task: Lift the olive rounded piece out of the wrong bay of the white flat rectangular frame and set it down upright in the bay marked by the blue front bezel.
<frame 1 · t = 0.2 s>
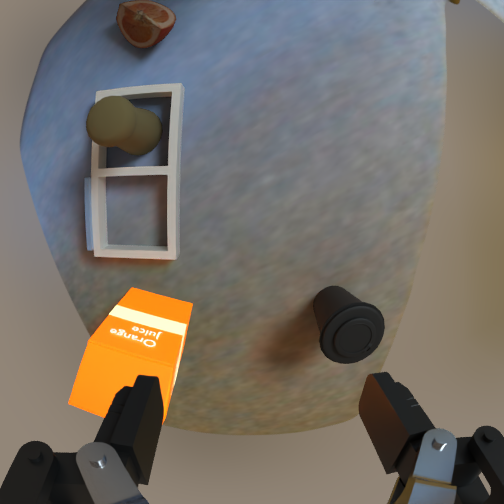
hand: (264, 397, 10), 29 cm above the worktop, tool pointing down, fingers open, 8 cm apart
white flat rectangular frame: (137, 171, 35), on the worktop
coffee cup: (331, 303, 41), on the worktop
orange juice: (158, 318, 41), on the worktop
olive rounded piece: (139, 132, 34), resting in white flat rectangular frame
fruit slice: (151, 30, 31), on the worktop
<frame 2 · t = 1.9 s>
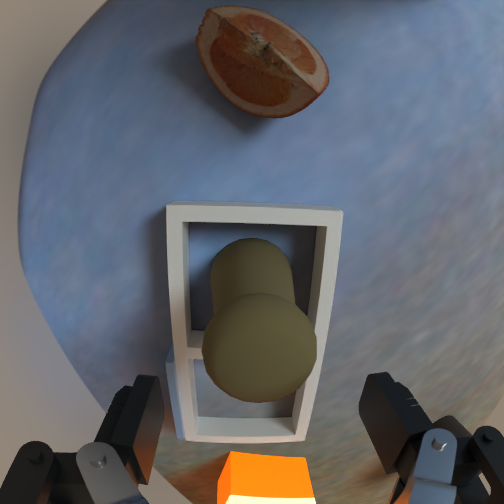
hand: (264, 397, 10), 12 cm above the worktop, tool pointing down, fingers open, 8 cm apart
white flat rectangular frame: (248, 337, 24), on the worktop
coffee cup: (437, 428, 30), on the worktop
orange juice: (259, 470, 29), on the worktop
olive rounded piece: (251, 277, 22), resting in white flat rectangular frame
fruit slice: (259, 70, 18), on the worktop
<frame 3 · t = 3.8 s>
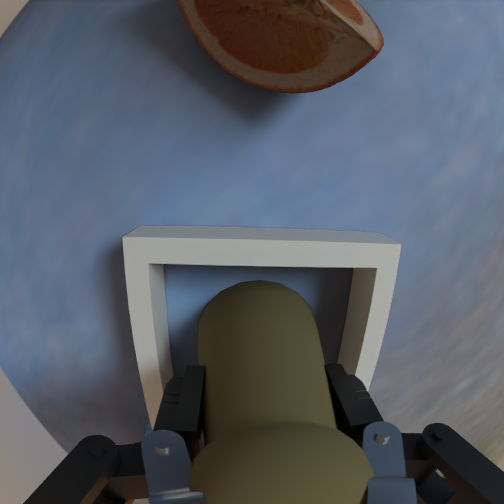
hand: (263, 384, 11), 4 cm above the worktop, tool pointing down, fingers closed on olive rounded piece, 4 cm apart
white flat rectangular frame: (253, 407, 16), on the worktop
olive rounded piece: (257, 334, 15), resting in white flat rectangular frame, touching gripper
fruit slice: (269, 30, 11), on the worktop
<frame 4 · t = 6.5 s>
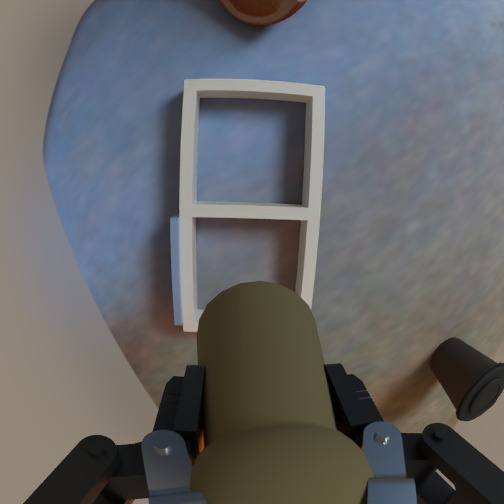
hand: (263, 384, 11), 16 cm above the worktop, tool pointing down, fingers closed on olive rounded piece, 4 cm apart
white flat rectangular frame: (249, 208, 26), on the worktop
coffee cup: (445, 354, 32), on the worktop
olive rounded piece: (256, 335, 15), point 12 cm above the worktop, touching gripper
fruit slice: (257, 3, 21), on the worktop
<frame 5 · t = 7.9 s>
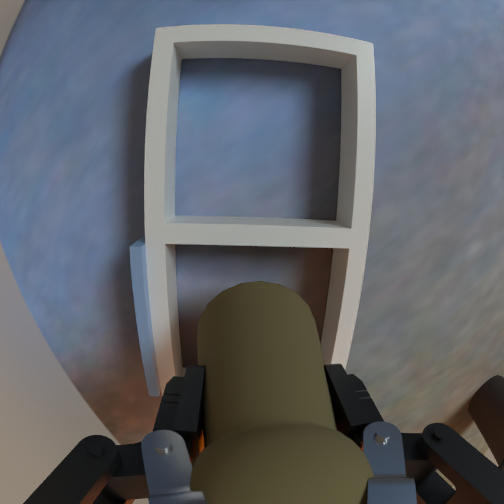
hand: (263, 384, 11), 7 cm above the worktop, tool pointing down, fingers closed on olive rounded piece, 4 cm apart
white flat rectangular frame: (256, 226, 17), on the worktop
coffee cup: (485, 394, 23), on the worktop
olive rounded piece: (256, 335, 15), point 3 cm above the worktop, touching gripper
when the fingers open (5 cm above the worktop, at t = 9.2 s): olive rounded piece drops 1 cm, resting in white flat rectangular frame.
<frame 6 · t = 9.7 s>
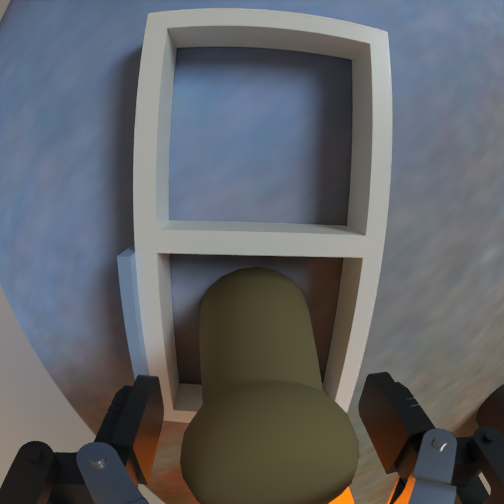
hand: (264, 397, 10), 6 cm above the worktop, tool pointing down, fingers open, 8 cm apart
white flat rectangular frame: (259, 232, 15), on the worktop
coffee cup: (493, 402, 21), on the worktop
orange juice: (271, 471, 21), on the worktop
olive rounded piece: (254, 318, 17), resting in white flat rectangular frame
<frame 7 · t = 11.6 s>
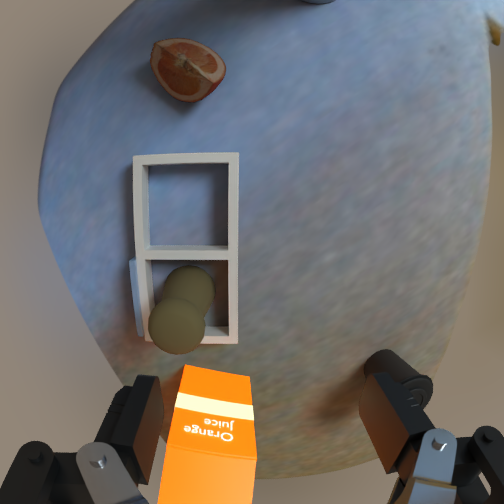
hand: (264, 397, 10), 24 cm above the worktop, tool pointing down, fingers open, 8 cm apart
white flat rectangular frame: (188, 249, 34), on the worktop
coffee cup: (379, 364, 39), on the worktop
orange juice: (212, 391, 39), on the worktop
olive rounded piece: (190, 289, 35), resting in white flat rectangular frame
fruit slice: (191, 75, 30), on the worktop
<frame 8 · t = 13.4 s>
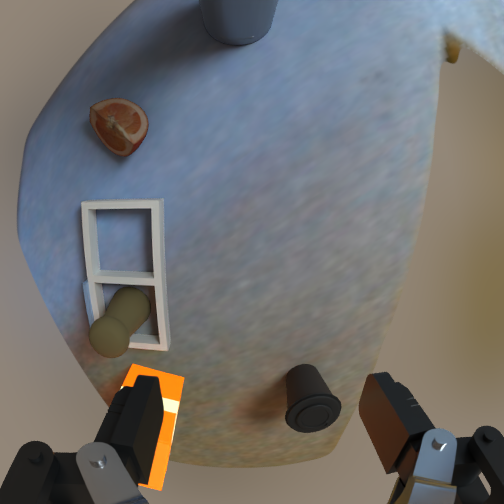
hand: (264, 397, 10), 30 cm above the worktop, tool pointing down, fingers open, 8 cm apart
white flat rectangular frame: (128, 274, 40), on the worktop
coffee cup: (302, 376, 46), on the worktop
orange juice: (156, 386, 46), on the worktop
olive rounded piece: (131, 305, 42), resting in white flat rectangular frame
fruit slice: (126, 128, 35), on the worktop
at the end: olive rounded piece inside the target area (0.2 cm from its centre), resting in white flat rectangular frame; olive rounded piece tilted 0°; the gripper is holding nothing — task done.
